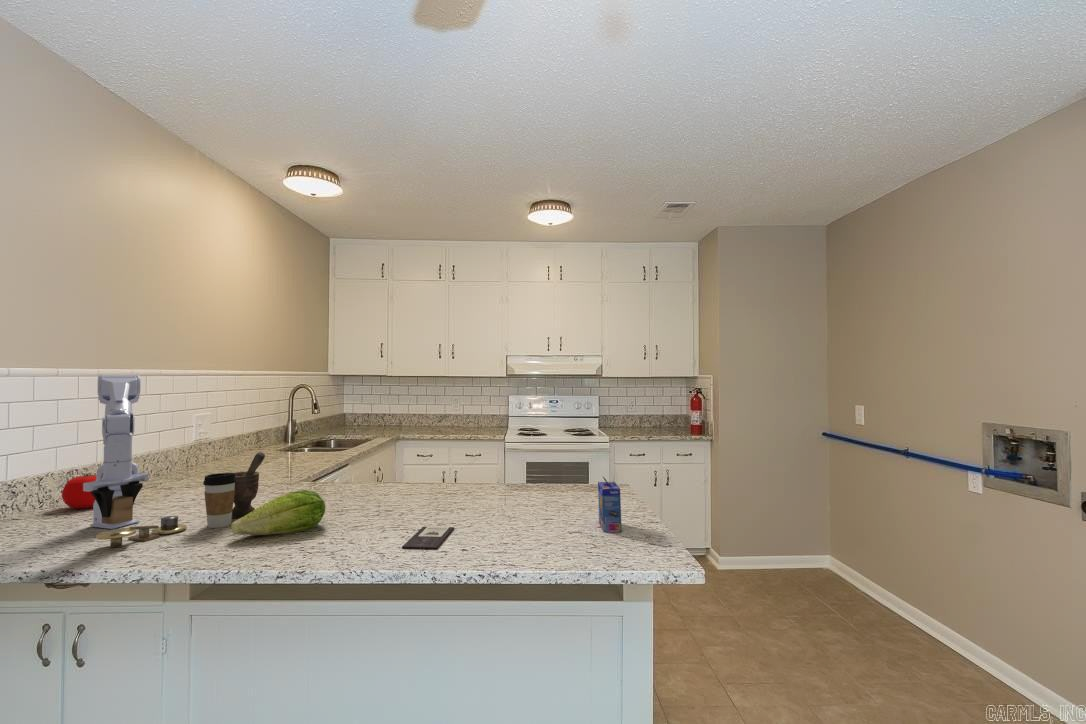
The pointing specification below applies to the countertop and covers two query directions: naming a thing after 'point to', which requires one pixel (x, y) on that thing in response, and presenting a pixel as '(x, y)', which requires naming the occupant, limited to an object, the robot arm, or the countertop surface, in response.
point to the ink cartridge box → (609, 506)
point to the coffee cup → (219, 498)
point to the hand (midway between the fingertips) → (116, 514)
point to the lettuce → (283, 515)
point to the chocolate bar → (428, 538)
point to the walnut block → (120, 510)
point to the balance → (142, 531)
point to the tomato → (78, 492)
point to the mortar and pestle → (246, 488)
